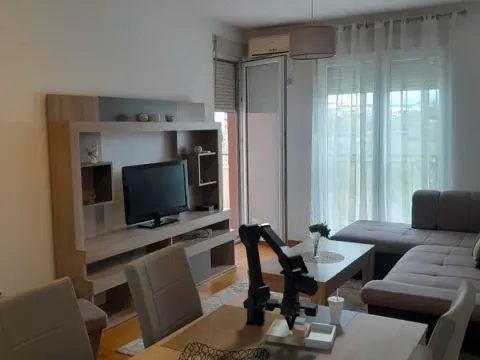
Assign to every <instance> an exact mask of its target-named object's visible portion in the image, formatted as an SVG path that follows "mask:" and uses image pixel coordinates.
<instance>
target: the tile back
mask: <svg viewBox="0 0 480 360" xmlns="http://www.w3.org/2000/svg"><path fill="white" fill-rule="evenodd" d="M306 323H307V319H306V318H305V317H301V316H299V317H297V318H296V320H295V323H294V325H295V324H296V325H303V326H305V325H306ZM293 327H294V326H293Z"/></svg>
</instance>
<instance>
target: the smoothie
mask: <svg viewBox="0 0 480 360" xmlns="http://www.w3.org/2000/svg"><path fill="white" fill-rule="evenodd" d="M327 302H328V311H329V321H330V324H331V325H340V324H341V318H342V312H343V307H344V304H345V299H344V298H343V297H341V296H339V288H338V287H337V288H336V296H333V295H332V296H329V297H327Z"/></svg>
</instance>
